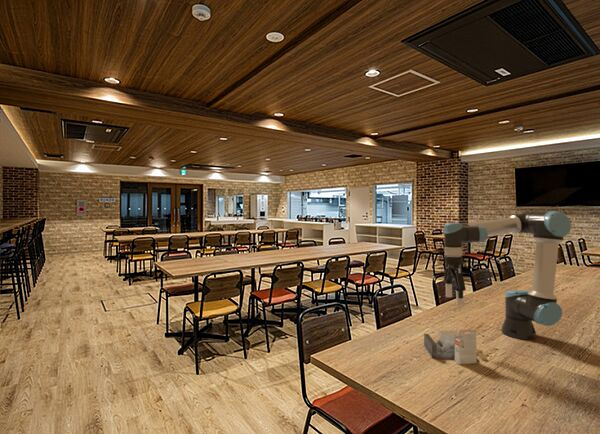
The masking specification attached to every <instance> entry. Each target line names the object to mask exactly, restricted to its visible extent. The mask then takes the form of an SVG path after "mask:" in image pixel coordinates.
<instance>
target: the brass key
mask: <svg viewBox="0 0 600 434" xmlns="http://www.w3.org/2000/svg"><path fill="white" fill-rule="evenodd" d="M476 357H478V358H479V359H481V361H486V362H487V361H488V357H487V355H485V354H484V353H483V351H482V350H480V349H476Z"/></svg>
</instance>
